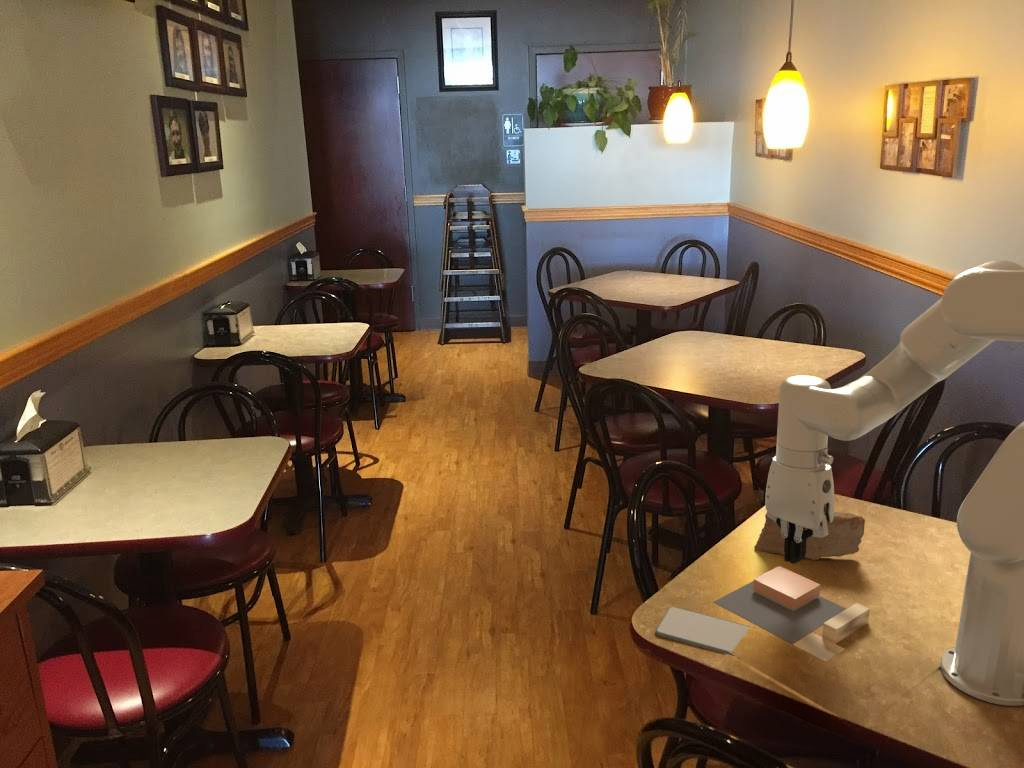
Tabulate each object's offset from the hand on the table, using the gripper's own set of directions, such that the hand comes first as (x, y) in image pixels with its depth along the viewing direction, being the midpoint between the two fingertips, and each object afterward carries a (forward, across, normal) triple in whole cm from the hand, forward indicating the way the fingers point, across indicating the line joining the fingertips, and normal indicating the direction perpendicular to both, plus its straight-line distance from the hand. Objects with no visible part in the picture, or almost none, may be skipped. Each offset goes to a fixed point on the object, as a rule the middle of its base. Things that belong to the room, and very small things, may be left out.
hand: (794, 559), depth 137 cm
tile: (+6, -3, 0) cm, 6 cm away
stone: (+8, +7, -14) cm, 17 cm away
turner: (+8, -11, +4) cm, 14 cm away
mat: (+7, 0, +4) cm, 8 cm away
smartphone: (+8, +2, +18) cm, 20 cm away
